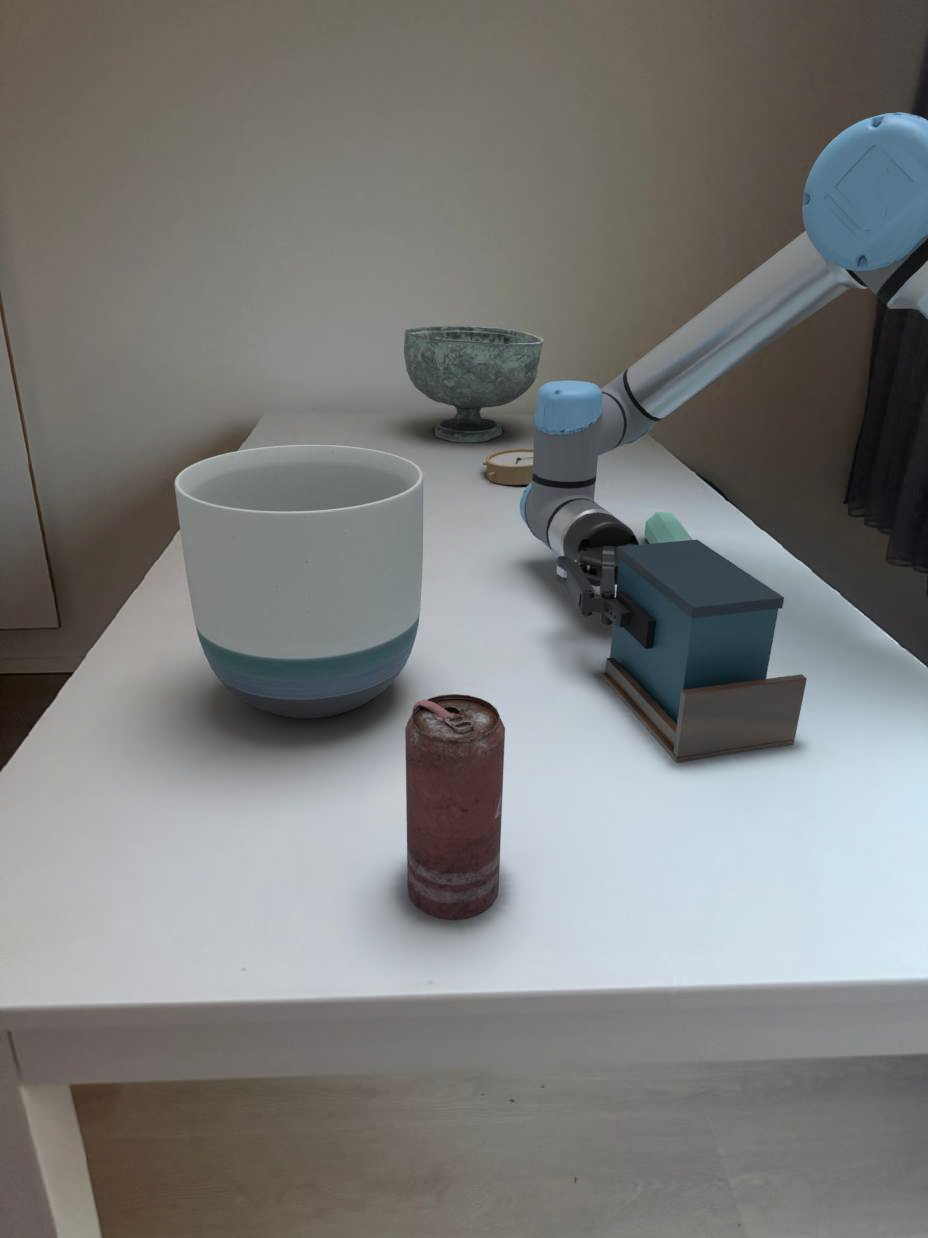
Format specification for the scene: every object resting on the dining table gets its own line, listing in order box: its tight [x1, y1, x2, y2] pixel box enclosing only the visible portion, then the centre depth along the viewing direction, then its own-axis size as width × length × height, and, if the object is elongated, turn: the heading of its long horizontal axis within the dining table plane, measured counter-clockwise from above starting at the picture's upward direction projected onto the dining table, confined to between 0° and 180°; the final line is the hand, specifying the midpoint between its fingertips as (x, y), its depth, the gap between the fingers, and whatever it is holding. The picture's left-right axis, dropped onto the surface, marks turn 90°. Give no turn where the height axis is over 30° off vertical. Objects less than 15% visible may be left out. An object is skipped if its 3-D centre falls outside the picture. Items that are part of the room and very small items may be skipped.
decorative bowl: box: [403, 325, 544, 443], centre depth 176 cm, size 26×26×20 cm
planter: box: [174, 444, 424, 719], centre depth 80 cm, size 20×20×21 cm
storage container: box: [609, 539, 785, 724], centre depth 82 cm, size 14×8×12 cm, turn 16°
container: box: [644, 511, 694, 544], centre depth 113 cm, size 6×6×25 cm
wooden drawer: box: [600, 657, 808, 764], centre depth 82 cm, size 15×11×7 cm
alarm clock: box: [482, 448, 534, 486], centre depth 152 cm, size 11×5×15 cm
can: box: [404, 693, 506, 921], centre depth 58 cm, size 6×6×14 cm
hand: (695, 629), depth 81 cm, fingers closed on storage container, 8 cm apart
